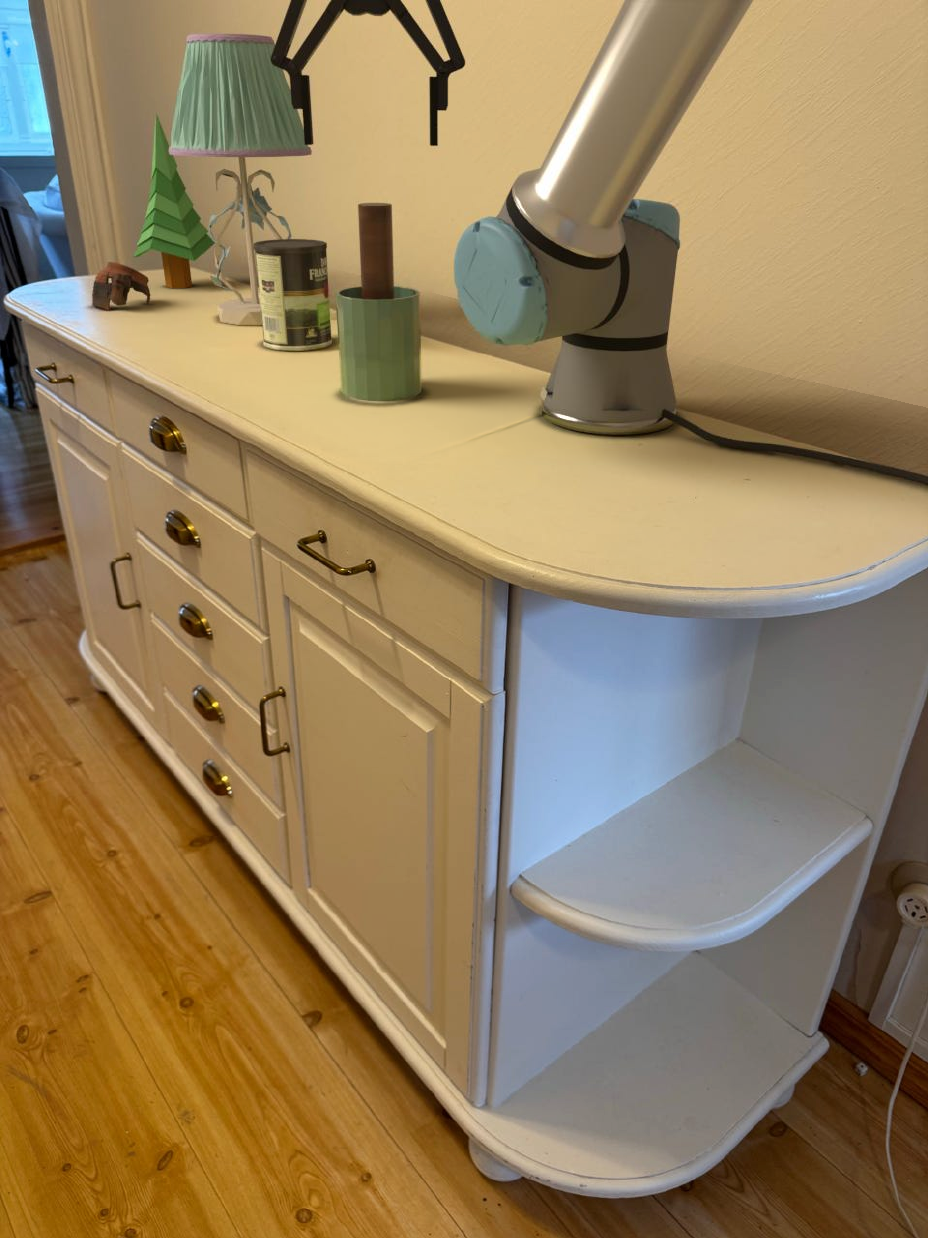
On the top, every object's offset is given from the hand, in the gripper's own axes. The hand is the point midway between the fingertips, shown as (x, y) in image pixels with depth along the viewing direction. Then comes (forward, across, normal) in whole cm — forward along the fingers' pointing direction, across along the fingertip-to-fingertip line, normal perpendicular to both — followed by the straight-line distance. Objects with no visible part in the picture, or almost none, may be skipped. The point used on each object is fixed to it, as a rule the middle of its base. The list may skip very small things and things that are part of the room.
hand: (371, 145), depth 101 cm
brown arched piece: (+28, +46, -59) cm, 79 cm away
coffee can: (+28, +13, -28) cm, 41 cm away
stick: (+27, 0, 0) cm, 27 cm away
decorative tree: (+28, +40, -80) cm, 94 cm away
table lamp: (+28, +21, -48) cm, 59 cm away
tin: (+27, 0, 0) cm, 27 cm away
